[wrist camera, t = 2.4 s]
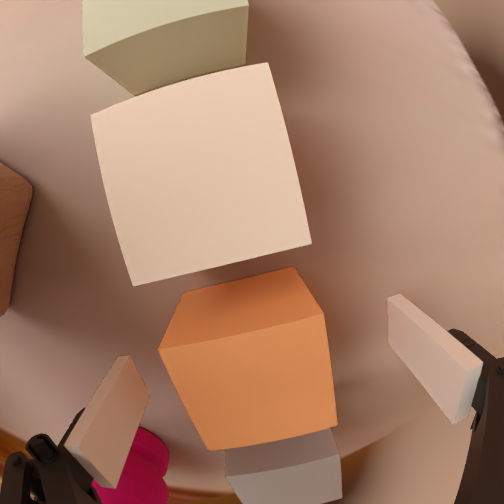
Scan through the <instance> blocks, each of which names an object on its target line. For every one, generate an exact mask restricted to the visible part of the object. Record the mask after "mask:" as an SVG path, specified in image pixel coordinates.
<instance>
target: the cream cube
mask: <svg viewBox="0 0 504 504" xmlns="http://www.w3.org/2000/svg"><path fill="white" fill-rule="evenodd" d="M91 122H92V128H93V134H94V140H95V145H96V151H97V156H98V161H99V166H100V170H101V175H102V180H103V184H104V188H105V192H106V197H107V201H108V205H109V209H110V212H111V216H112V220H113V223H114V227H115V231H116V234H117V238H118V241H119V244H120V248H121V251H122V254H123V257H124V260H125V264H126V267H127V270H128V273H129V276H130V279H131V282H132V284H133V286H138V285H142V284H146V283H150V282H155V281H159V280H163V279H167V278H172V277H176V276H180V275H184V274H189V273H193V272H197V271H201V270H205V269H210V268H214V267H218V266H222V265H226V264H231V263H235V262H239V261H243V260H247V259H251V258H256V257H260V256H264V255H268V254H272V253H276V252H280V251H284V250H289V249H293V248H297V247H301V246H305V245H309V244H312V242H311V237H310V232H309V227H308V222H307V217H306V212H305V207H304V203H303V198H302V193H301V189H300V184H299V180H298V175H297V171H296V167H295V162H294V158H293V154H292V150H291V146H290V142H289V138H288V134H287V130H286V126H285V122H284V118H283V114H282V110H281V107H280V103H279V99H278V96H277V92H276V88H275V85H274V81H273V78H272V74H271V71H270V68H269V64H268V62H267V63H261V64H255V65H249V66H244V67H239V68H234V69H229V70H225V71H220V72H216V73H212V74H208V75H204V76H200V77H196V78H192V79H189V80H185V81H182V82H178V83H175V84H172V85H168V86H165V87H162V88H159V89H156V90H153V91H150V92H147V93H144V94H141V95H139V96H136V97H133V98H131V99H128V100H125V101H123V102H120V103H118V104H115V105H113V106H110V107H108V108H106V109H103V110H101V111H99V112H96V113H94V114H92V115H91Z"/></svg>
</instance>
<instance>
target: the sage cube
mask: <svg viewBox="0 0 504 504" xmlns="http://www.w3.org/2000/svg"><path fill="white" fill-rule="evenodd" d="M248 15H249V3H248V0H83V3H82V22H83V49H84V57H85V58H86V59H88V60H89V61H90V62H92V63H93V64H94V65H96V66H97V67H98V68H99V69H101V70H102V71H103V72H105V73H106V74H107V75H109V76H110V77H111V78H113V79H114V80H115V81H116V82H118V83H119V84H120V85H121V86H123V87H124V88H125V89H127V90H128V91H129V92H130V93H132V94H133V95H134V96H136V95H138V94H141V93H144V92H147V91H150V90H152V89H155V88H158V87H161V86H165V85H168V84H171V83H174V82H178V81H181V80H184V79H188V78H191V77H195V76H199V75H203V74H207V73H211V72H215V71H219V70H224V69H228V68H233V67H238V66H243V65H245V59H246V44H247V29H248Z"/></svg>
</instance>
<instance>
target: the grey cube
mask: <svg viewBox="0 0 504 504" xmlns="http://www.w3.org/2000/svg"><path fill="white" fill-rule="evenodd" d="M225 478H226V480H227V481H228V483H229V484H230V486H231V487H232V489H233V490H234V492H235V493H236V495H237V496H238V498H239V499H240V501H241V502H242V504H321V503H325V502H329V501H333V500H337V499H340V498H342V482H341V464H340V453H339V450H338V447H337V444H336V441H335V439H334V436H333V433H332V430H331V427H330V428H327V429H323V430H320V431H316V432H312V433H308V434H304V435H300V436H296V437H292V438H287V439H283V440H278V441H273V442H268V443H262V444H257V445H251V446H244V447H237V448H230V449H225Z"/></svg>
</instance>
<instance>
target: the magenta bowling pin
mask: <svg viewBox="0 0 504 504" xmlns="http://www.w3.org/2000/svg"><path fill="white" fill-rule="evenodd" d="M168 462H169V452H168V449H167V448H166V446H165V445H164V443H163V442H162V441H161V440H160V439H159V438H157V437H156V436H155V435H153V434H152V433H150V432H148V431H146V430H144V429H142V428H140V427H138V429H137V431H136V434H135V437H134V439H133V442H132V445H131V448H130V450H129V453H128V456H127V459H126V461H125V464H124V467H123V470H122V473H121V475H120V478H119V481H118V484H117V487H116V489H114V488H107V487H101V486H100V485H99V484H98V483H97V482H96V481H95V480H94V479H93V482H92V485H93V487H94V488H95V489H96V491H97V493H98V495H99V498H100V500H101V502H102V504H167V501H168V497H169V490H168V487H167V485H166V483H165V481H164V479H163V478H162V477H163V476H164V475H165V474H166V472H167V467H168Z"/></svg>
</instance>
